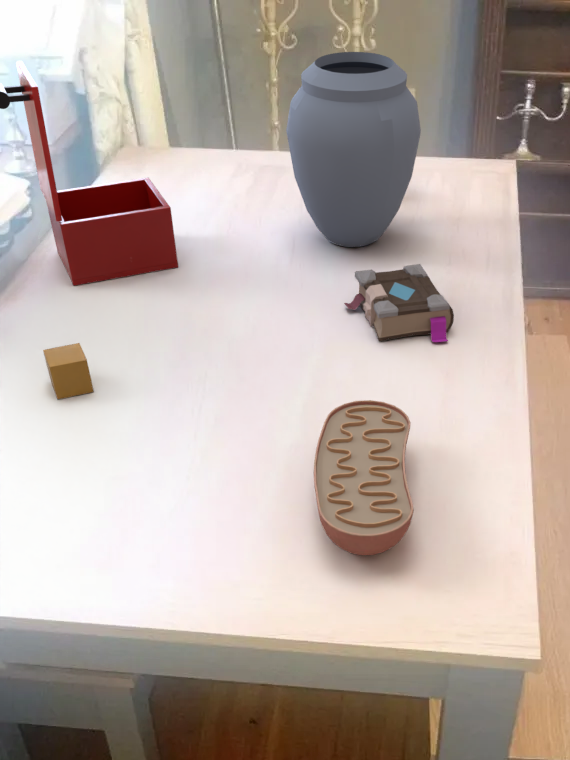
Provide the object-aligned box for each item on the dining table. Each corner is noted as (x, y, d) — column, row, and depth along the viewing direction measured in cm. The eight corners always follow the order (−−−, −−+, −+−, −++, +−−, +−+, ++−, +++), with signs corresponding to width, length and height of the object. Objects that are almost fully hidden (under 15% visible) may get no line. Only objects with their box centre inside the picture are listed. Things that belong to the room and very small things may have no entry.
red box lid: (21, 60, 120) (-20, 63, 118) (37, 86, 111) (-7, 90, 110) (46, 189, 131) (8, 193, 129) (62, 221, 123) (22, 226, 121)
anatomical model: (411, 576, 86) (414, 536, 82) (308, 573, 86) (307, 534, 83) (407, 438, 102) (409, 400, 99) (320, 436, 102) (319, 398, 99)
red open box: (156, 235, 142) (148, 177, 136) (178, 267, 134) (170, 207, 127) (57, 251, 137) (44, 192, 131) (73, 286, 129) (60, 224, 123)
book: (331, 286, 129) (331, 251, 126) (412, 276, 131) (414, 242, 128) (369, 354, 116) (370, 318, 112) (458, 342, 118) (462, 306, 114)
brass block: (57, 399, 108) (49, 367, 105) (51, 381, 111) (42, 349, 108) (94, 392, 109) (86, 359, 106) (86, 374, 112) (79, 342, 109)
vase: (318, 206, 150) (315, 38, 133) (429, 223, 145) (442, 51, 128) (270, 252, 137) (260, 73, 120) (390, 273, 132) (398, 89, 115)
